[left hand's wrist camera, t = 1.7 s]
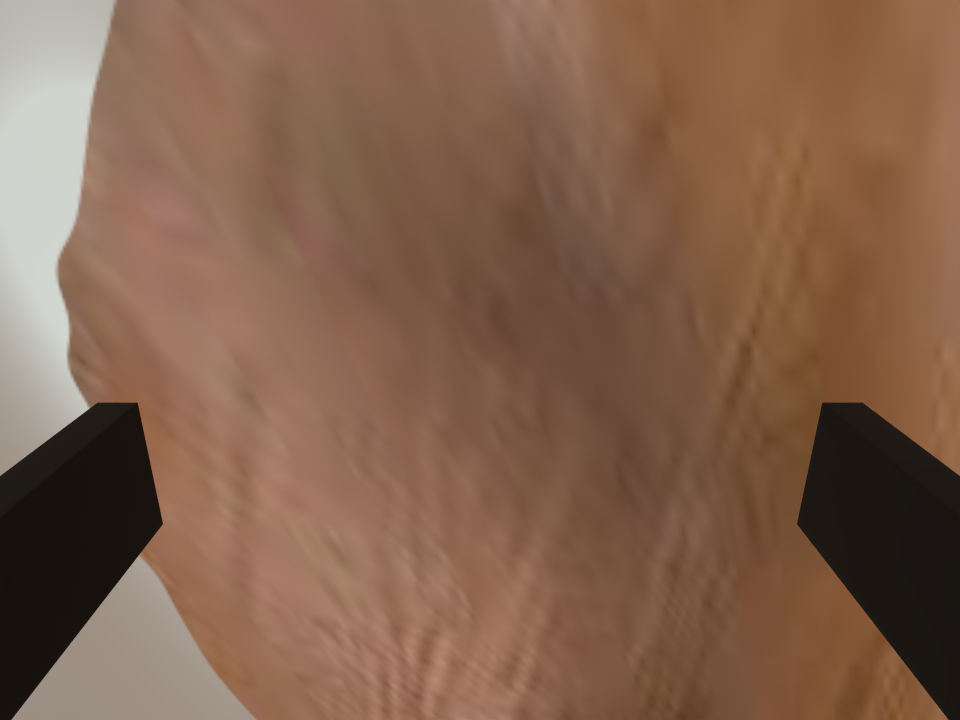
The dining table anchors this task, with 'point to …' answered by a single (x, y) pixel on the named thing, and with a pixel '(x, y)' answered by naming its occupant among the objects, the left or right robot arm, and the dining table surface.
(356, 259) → the dining table surface
